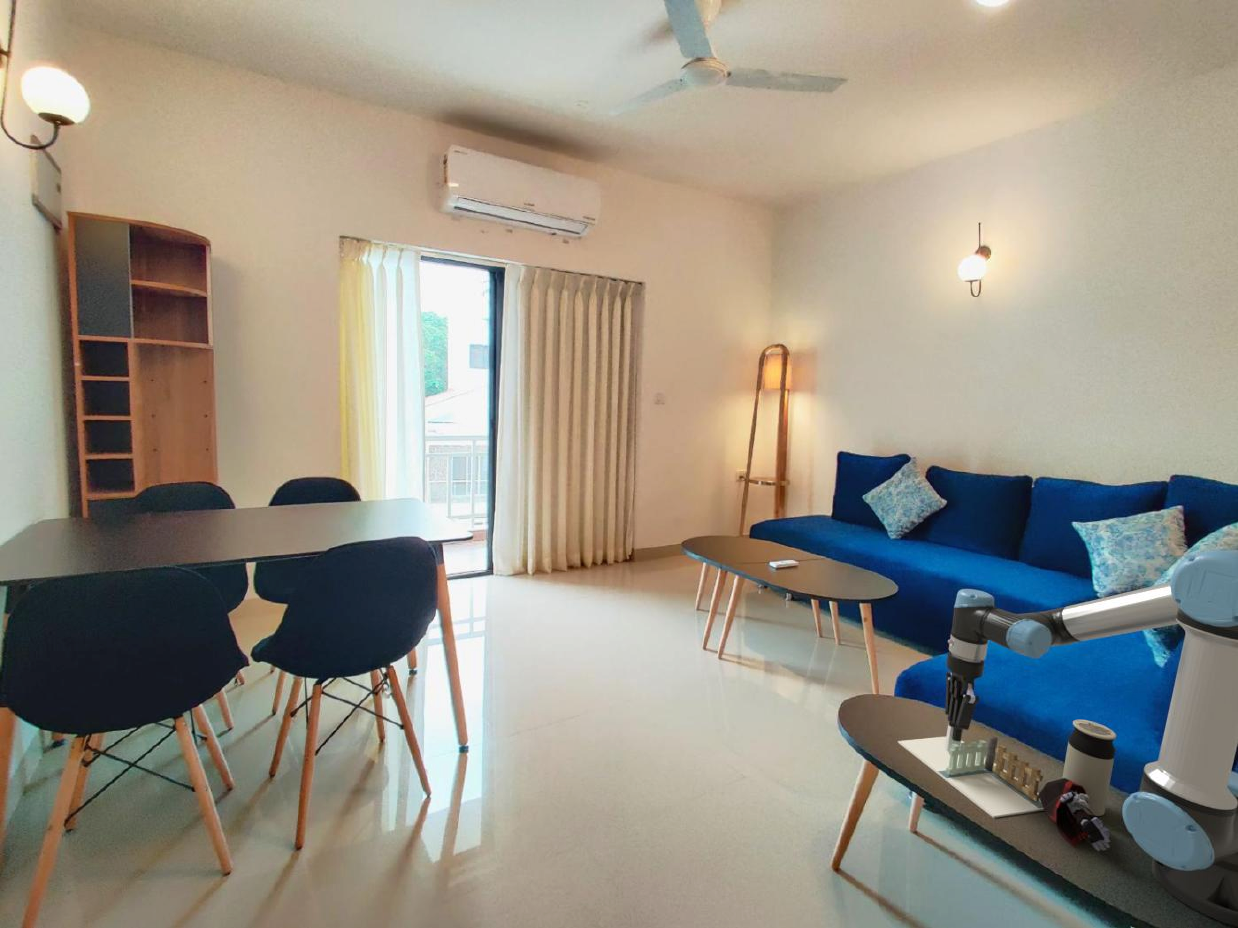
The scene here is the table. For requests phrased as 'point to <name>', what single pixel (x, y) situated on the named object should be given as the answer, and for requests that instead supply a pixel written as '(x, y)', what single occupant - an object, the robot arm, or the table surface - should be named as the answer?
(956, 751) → the fence gate
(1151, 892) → the table surface
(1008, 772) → the fence fixed
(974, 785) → the card
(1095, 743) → the travel mug
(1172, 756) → the robot arm
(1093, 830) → the toy
